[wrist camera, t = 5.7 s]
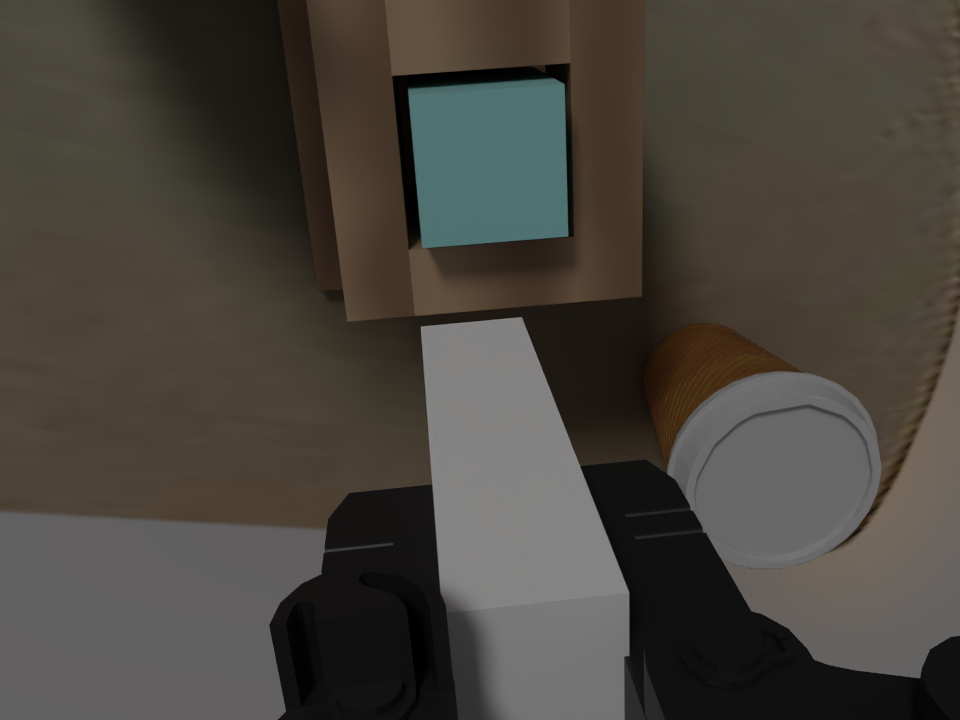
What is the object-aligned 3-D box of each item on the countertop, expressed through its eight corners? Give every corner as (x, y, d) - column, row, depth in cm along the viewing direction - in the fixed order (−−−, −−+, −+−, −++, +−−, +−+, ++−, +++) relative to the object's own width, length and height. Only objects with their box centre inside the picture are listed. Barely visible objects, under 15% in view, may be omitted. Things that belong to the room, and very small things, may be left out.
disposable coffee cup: (813, 325, 49) (933, 423, 38) (735, 471, 52) (824, 600, 41) (658, 270, 47) (736, 355, 36) (586, 424, 50) (638, 547, 39)
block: (417, 180, 41) (422, 248, 30) (407, 67, 39) (408, 95, 28) (524, 171, 41) (568, 236, 30) (519, 59, 40) (564, 84, 28)
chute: (319, 285, 46) (288, 389, 34) (271, -59, 39) (213, -82, 27) (627, 259, 46) (704, 352, 34) (628, -82, 40) (722, -115, 28)
